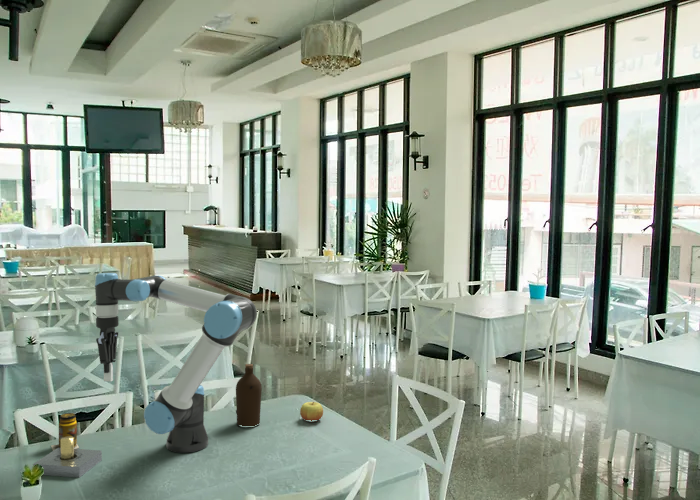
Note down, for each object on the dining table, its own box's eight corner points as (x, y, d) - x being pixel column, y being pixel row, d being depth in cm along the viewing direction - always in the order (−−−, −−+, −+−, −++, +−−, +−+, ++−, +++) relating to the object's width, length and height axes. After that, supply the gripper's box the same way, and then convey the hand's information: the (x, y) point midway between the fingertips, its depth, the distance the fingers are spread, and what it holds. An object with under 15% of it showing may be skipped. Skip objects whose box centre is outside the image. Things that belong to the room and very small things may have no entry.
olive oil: (266, 423, 250) (267, 364, 248) (247, 430, 241) (248, 369, 240) (249, 418, 256) (250, 360, 255) (229, 424, 248) (230, 364, 247)
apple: (327, 418, 258) (327, 400, 257) (316, 425, 249) (317, 406, 248) (306, 415, 262) (307, 397, 261) (295, 422, 253) (296, 403, 252)
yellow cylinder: (76, 465, 205) (76, 436, 204) (69, 470, 201) (69, 441, 200) (65, 464, 205) (64, 436, 205) (58, 469, 201) (58, 440, 201)
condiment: (79, 448, 220) (79, 416, 219) (53, 453, 215) (53, 420, 214) (75, 441, 226) (75, 410, 225) (50, 446, 221) (50, 414, 220)
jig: (101, 460, 210) (101, 450, 209) (79, 477, 196) (79, 467, 195) (58, 457, 211) (58, 447, 211) (33, 474, 197) (33, 463, 197)
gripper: (105, 313, 223) (106, 376, 224) (88, 318, 210) (89, 385, 211) (125, 313, 222) (126, 376, 224) (109, 319, 209) (110, 386, 211)
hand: (108, 380), depth 217 cm, fingers closed
